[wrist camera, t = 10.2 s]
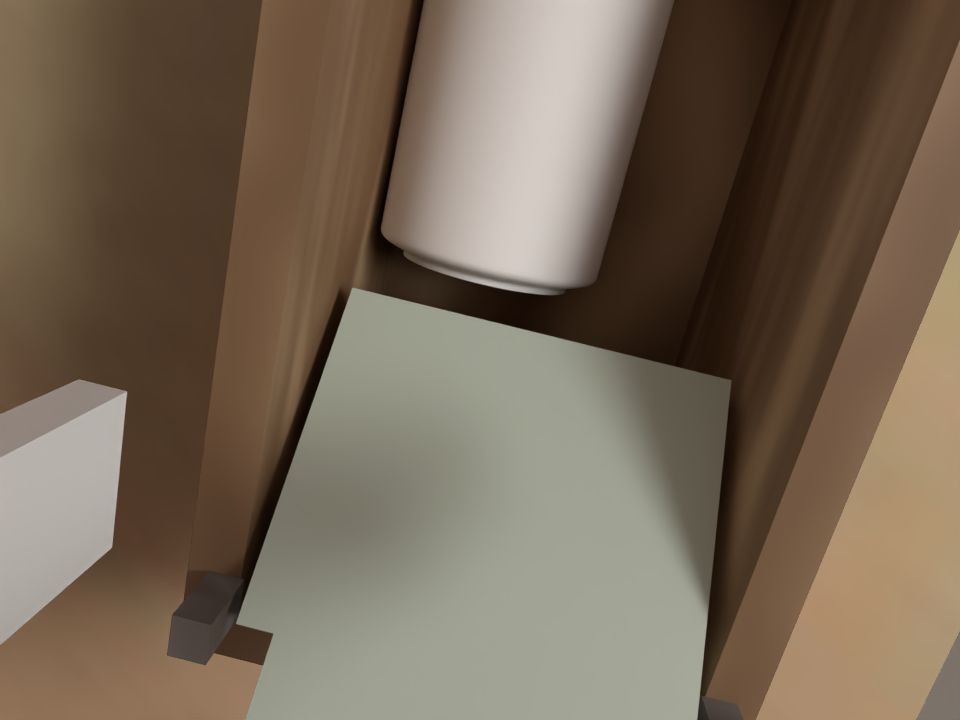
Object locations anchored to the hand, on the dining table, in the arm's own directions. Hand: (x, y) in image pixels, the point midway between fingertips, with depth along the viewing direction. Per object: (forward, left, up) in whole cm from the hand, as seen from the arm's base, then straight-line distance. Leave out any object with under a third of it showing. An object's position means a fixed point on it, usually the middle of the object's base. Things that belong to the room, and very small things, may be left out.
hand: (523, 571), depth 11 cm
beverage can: (-2, +2, -16) cm, 16 cm away
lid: (0, -7, -7) cm, 10 cm away
